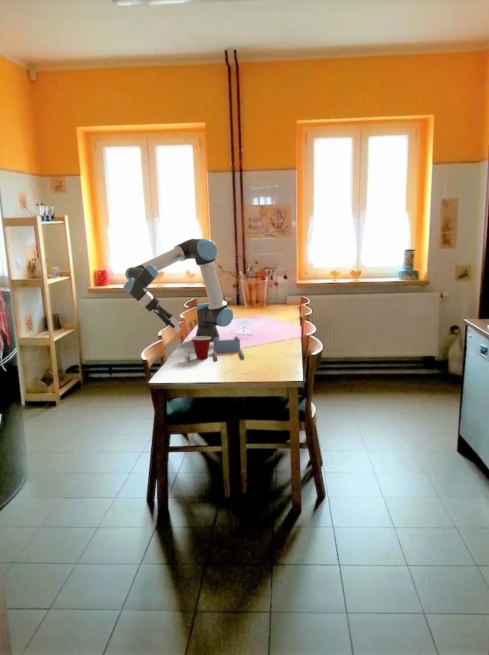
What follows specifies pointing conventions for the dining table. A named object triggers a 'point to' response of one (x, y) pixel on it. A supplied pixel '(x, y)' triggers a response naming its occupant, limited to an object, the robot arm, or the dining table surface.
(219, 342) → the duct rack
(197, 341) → the plastic cup
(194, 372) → the dining table surface
